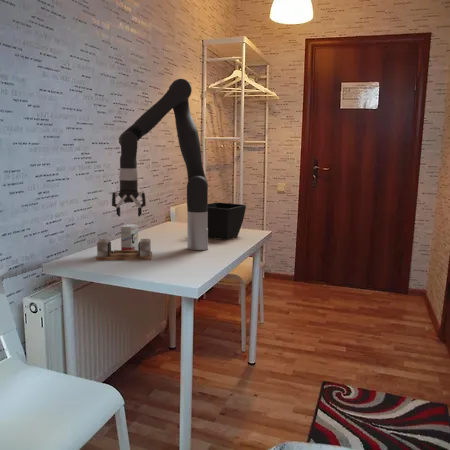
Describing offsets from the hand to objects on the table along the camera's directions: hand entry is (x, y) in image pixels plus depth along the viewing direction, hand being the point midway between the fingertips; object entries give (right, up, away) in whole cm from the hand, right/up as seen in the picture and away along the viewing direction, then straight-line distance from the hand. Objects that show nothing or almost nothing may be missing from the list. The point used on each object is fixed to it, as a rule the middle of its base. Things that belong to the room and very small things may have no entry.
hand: (129, 216), depth 194 cm
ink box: (0, -16, +2) cm, 16 cm away
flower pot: (+40, -10, +39) cm, 57 cm away
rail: (0, -17, -8) cm, 19 cm away
